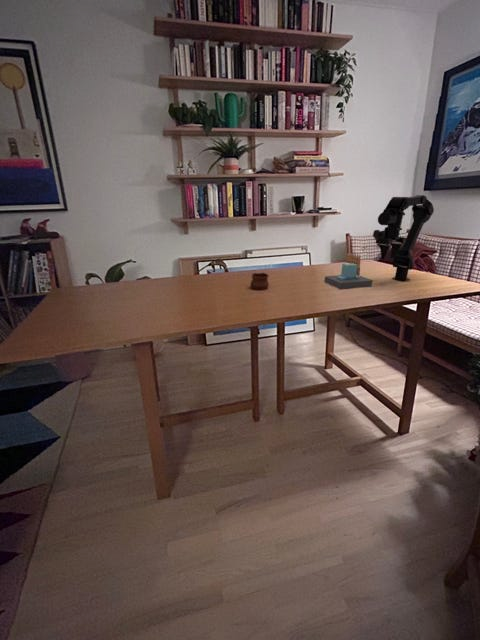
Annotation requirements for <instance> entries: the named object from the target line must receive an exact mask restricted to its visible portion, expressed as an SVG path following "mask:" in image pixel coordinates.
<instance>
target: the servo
mask: <svg viewBox="0 0 480 640" xmlns="http://www.w3.org/2000/svg"><path fill="white" fill-rule="evenodd" d="M357 268H358V265H357V264H354V263H346V262H345V263H342V265H341V273H340V275H341V276H337V277H336V278H338V279H340V280H354V279H358V278H360V276H361V275H359V276H357Z"/></svg>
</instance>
